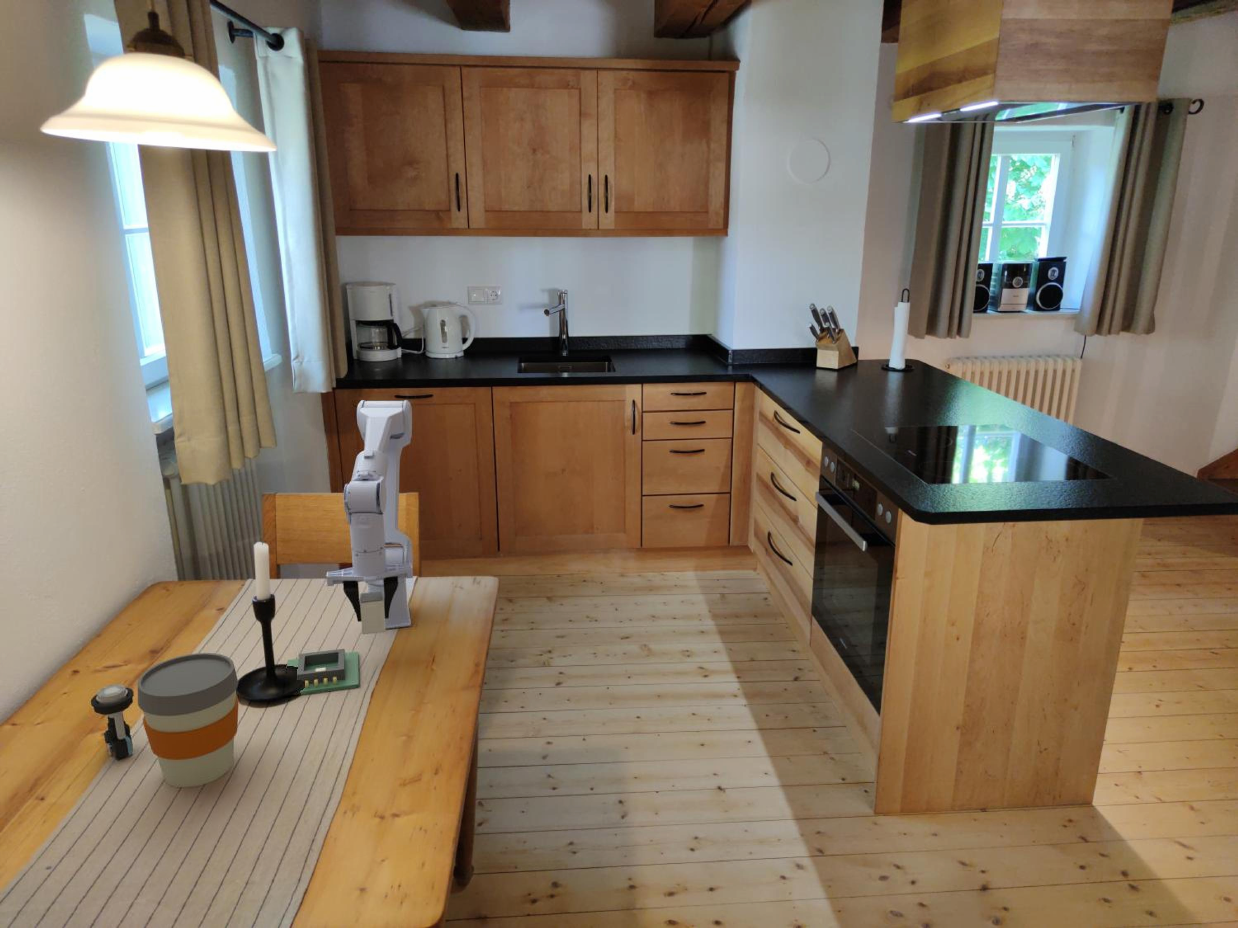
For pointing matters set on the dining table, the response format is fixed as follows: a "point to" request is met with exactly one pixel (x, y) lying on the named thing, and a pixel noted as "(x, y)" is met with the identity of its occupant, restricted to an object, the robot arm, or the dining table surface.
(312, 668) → the header socket
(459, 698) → the dining table surface
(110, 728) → the push button
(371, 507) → the robot arm
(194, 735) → the reusable coffee cup
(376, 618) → the plug
